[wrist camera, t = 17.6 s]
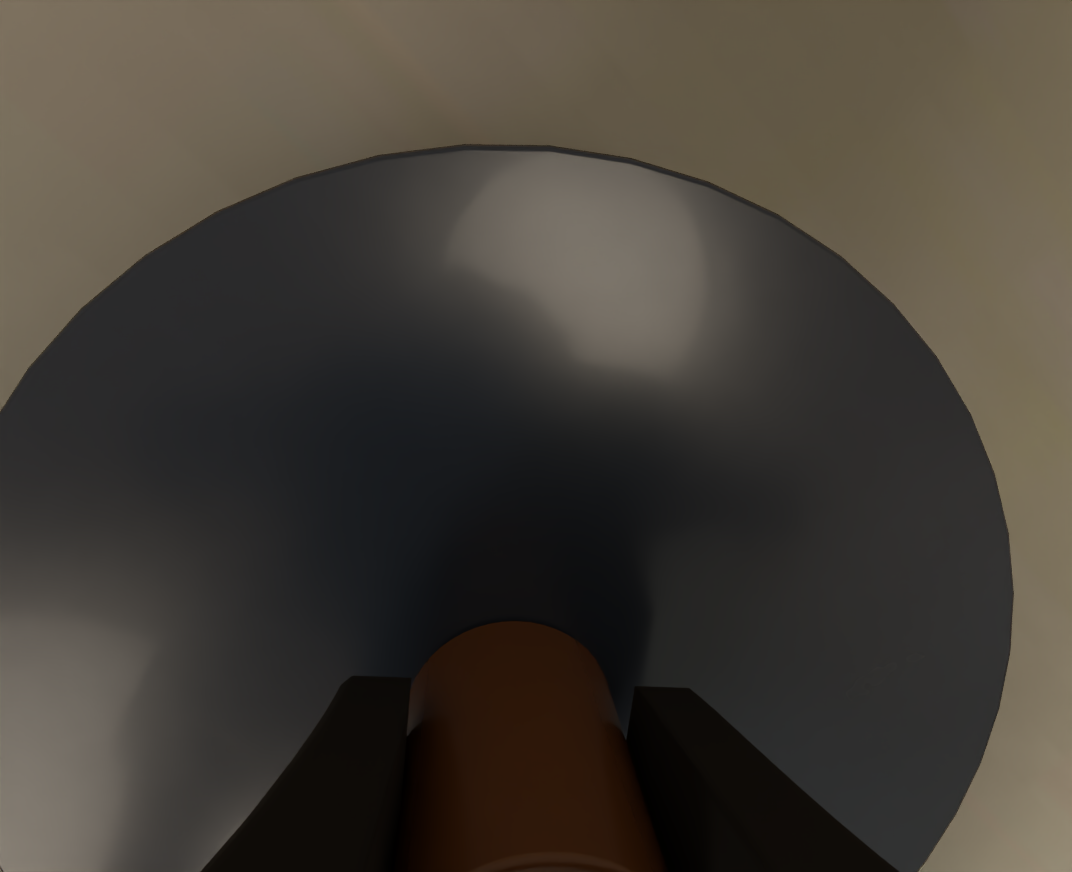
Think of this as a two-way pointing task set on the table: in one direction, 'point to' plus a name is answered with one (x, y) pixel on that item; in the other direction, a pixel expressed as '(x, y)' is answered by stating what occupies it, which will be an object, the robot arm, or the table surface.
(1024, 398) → the table surface
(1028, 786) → the table surface
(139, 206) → the table surface
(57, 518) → the pot lid
